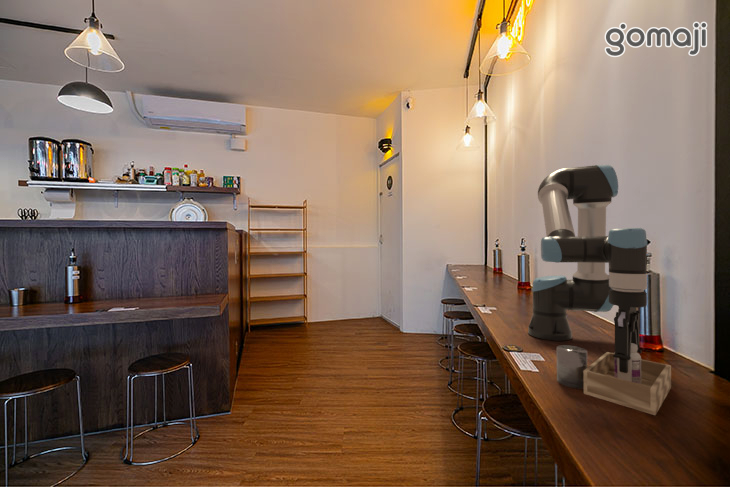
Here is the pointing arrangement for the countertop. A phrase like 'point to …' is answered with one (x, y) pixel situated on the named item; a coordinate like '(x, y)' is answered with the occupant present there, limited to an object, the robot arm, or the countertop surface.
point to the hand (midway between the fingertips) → (627, 380)
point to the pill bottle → (635, 364)
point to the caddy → (629, 384)
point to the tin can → (571, 365)
